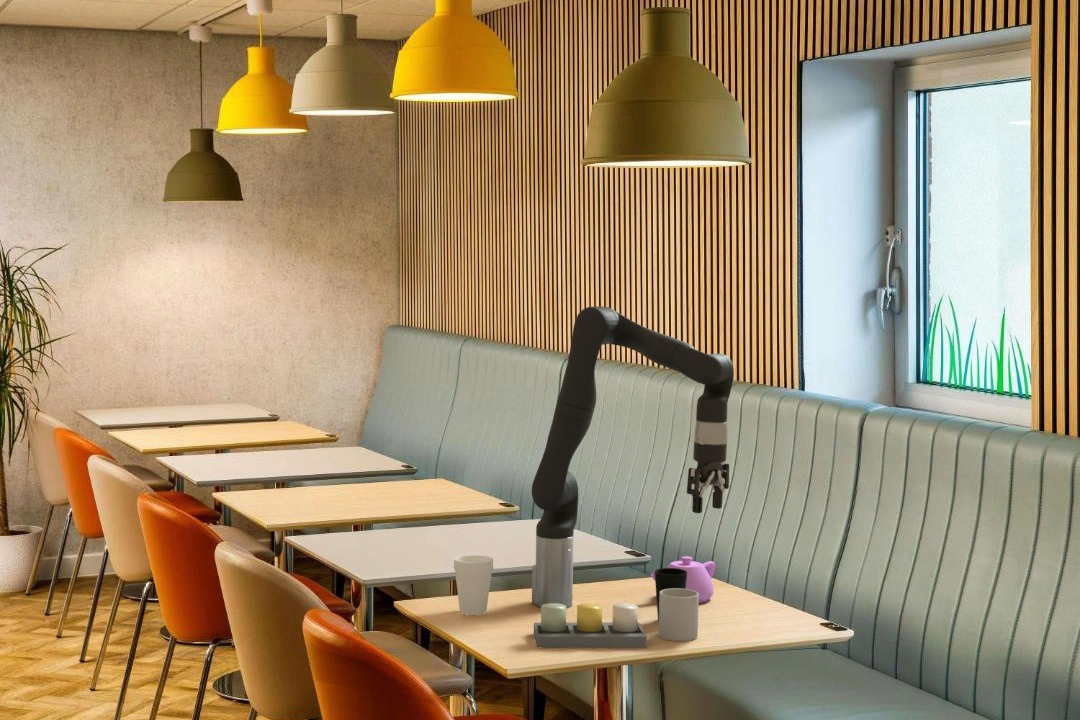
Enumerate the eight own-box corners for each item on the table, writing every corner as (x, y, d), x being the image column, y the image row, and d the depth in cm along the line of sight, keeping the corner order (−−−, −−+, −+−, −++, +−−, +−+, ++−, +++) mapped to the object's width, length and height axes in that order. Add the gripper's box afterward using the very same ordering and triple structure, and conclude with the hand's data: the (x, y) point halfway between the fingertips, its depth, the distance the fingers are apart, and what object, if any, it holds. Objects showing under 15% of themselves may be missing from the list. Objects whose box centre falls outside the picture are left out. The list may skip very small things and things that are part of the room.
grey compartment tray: (537, 647, 299) (537, 636, 299) (533, 633, 311) (533, 622, 311) (646, 647, 300) (646, 636, 300) (638, 633, 312) (638, 622, 312)
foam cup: (483, 618, 323) (484, 564, 322) (447, 615, 326) (448, 561, 325) (497, 609, 332) (498, 556, 331) (462, 606, 335) (463, 553, 334)
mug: (670, 642, 305) (671, 598, 304) (650, 632, 313) (651, 589, 313) (712, 638, 309) (713, 594, 308) (691, 628, 318) (692, 585, 317)
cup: (684, 626, 319) (685, 575, 318) (651, 624, 320) (652, 573, 320) (687, 618, 326) (688, 568, 326) (655, 616, 328) (656, 567, 327)
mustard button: (577, 631, 302) (578, 609, 302) (575, 625, 308) (575, 603, 308) (603, 631, 303) (603, 609, 302) (600, 625, 308) (600, 603, 308)
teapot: (635, 597, 347) (636, 556, 346) (696, 589, 358) (697, 548, 357) (668, 609, 335) (669, 566, 335) (731, 600, 346) (732, 558, 345)
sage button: (541, 631, 302) (542, 609, 302) (540, 625, 307) (540, 603, 307) (567, 631, 302) (567, 609, 302) (564, 625, 308) (565, 603, 308)
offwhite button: (613, 631, 303) (614, 609, 303) (610, 625, 308) (611, 603, 308) (639, 631, 303) (639, 609, 303) (635, 625, 309) (636, 603, 309)
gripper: (713, 436, 322) (709, 504, 323) (679, 441, 311) (676, 511, 312) (740, 440, 317) (737, 509, 319) (707, 445, 306) (704, 516, 308)
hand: (707, 510), depth 315 cm, fingers open, 8 cm apart
